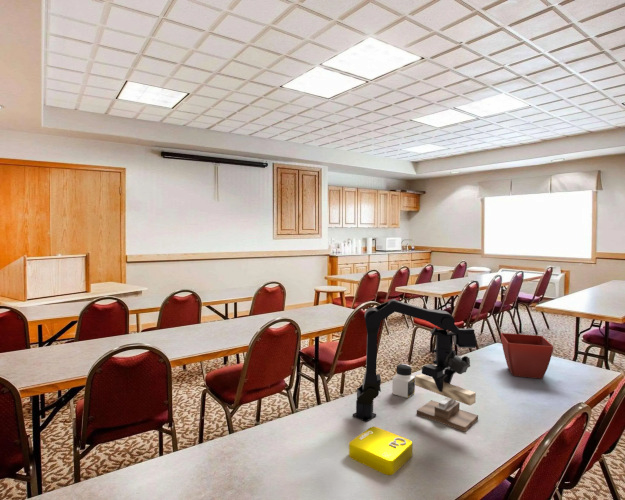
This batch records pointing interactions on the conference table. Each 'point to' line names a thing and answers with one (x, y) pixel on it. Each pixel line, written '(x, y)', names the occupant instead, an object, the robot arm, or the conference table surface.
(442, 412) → the balance stand
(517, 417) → the conference table surface
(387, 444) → the element tile
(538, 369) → the plant pot
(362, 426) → the conference table surface
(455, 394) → the beech stick
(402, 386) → the medicine bottle
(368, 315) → the robot arm
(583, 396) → the conference table surface
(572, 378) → the conference table surface
